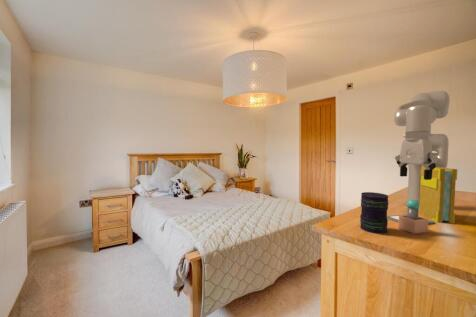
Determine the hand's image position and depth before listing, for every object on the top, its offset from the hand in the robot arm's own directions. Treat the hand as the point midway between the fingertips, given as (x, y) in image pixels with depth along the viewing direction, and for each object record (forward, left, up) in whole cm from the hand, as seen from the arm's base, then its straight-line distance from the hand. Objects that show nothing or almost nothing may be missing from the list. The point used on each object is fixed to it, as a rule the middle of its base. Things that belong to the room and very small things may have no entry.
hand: (414, 177), depth 90 cm
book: (-28, -11, -22) cm, 37 cm away
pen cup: (0, 0, -22) cm, 22 cm away
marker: (0, 0, -22) cm, 22 cm away
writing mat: (-11, -10, -22) cm, 27 cm away
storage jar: (+15, -5, -22) cm, 27 cm away
